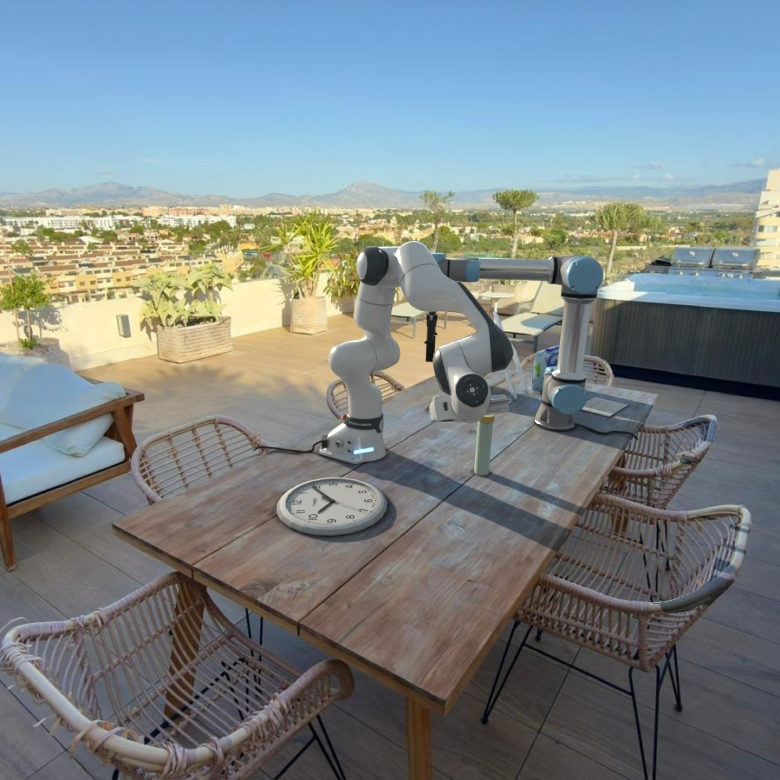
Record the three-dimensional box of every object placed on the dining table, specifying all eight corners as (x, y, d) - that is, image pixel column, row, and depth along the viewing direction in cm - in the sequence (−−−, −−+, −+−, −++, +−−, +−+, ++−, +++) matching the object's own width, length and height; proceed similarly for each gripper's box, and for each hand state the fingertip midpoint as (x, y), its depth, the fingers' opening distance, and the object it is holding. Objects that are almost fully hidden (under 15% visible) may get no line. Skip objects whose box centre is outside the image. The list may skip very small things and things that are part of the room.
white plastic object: (461, 429, 252) (437, 405, 227) (444, 352, 274) (420, 323, 250) (535, 404, 240) (518, 377, 215) (510, 326, 262) (492, 293, 237)
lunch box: (548, 398, 236) (553, 353, 229) (527, 393, 243) (531, 349, 237) (575, 387, 253) (581, 344, 247) (555, 382, 260) (560, 341, 254)
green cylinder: (479, 476, 161) (483, 418, 155) (471, 470, 165) (475, 414, 159) (491, 474, 163) (496, 417, 157) (483, 468, 167) (487, 412, 161)
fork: (422, 411, 216) (422, 407, 215) (433, 400, 230) (433, 396, 230) (428, 412, 215) (429, 407, 215) (438, 401, 230) (439, 396, 229)
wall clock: (392, 527, 129) (268, 531, 127) (391, 533, 130) (269, 537, 127) (383, 473, 158) (282, 475, 155) (383, 478, 158) (282, 480, 156)
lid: (483, 424, 155) (483, 418, 155) (473, 418, 160) (473, 412, 159) (497, 421, 157) (498, 415, 157) (487, 416, 162) (488, 410, 161)
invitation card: (608, 416, 214) (573, 407, 224) (608, 416, 214) (573, 408, 224) (628, 404, 229) (594, 396, 238) (628, 405, 229) (594, 397, 238)
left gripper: (510, 385, 127) (504, 397, 140) (426, 397, 128) (429, 407, 142) (514, 411, 125) (508, 420, 139) (430, 422, 127) (432, 430, 140)
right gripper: (424, 293, 195) (422, 349, 202) (419, 302, 172) (417, 365, 178) (444, 294, 195) (441, 350, 201) (442, 303, 171) (439, 366, 177)
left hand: (467, 414), depth 140 cm, fingers open, 8 cm apart
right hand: (430, 357), depth 190 cm, fingers open, 13 cm apart
